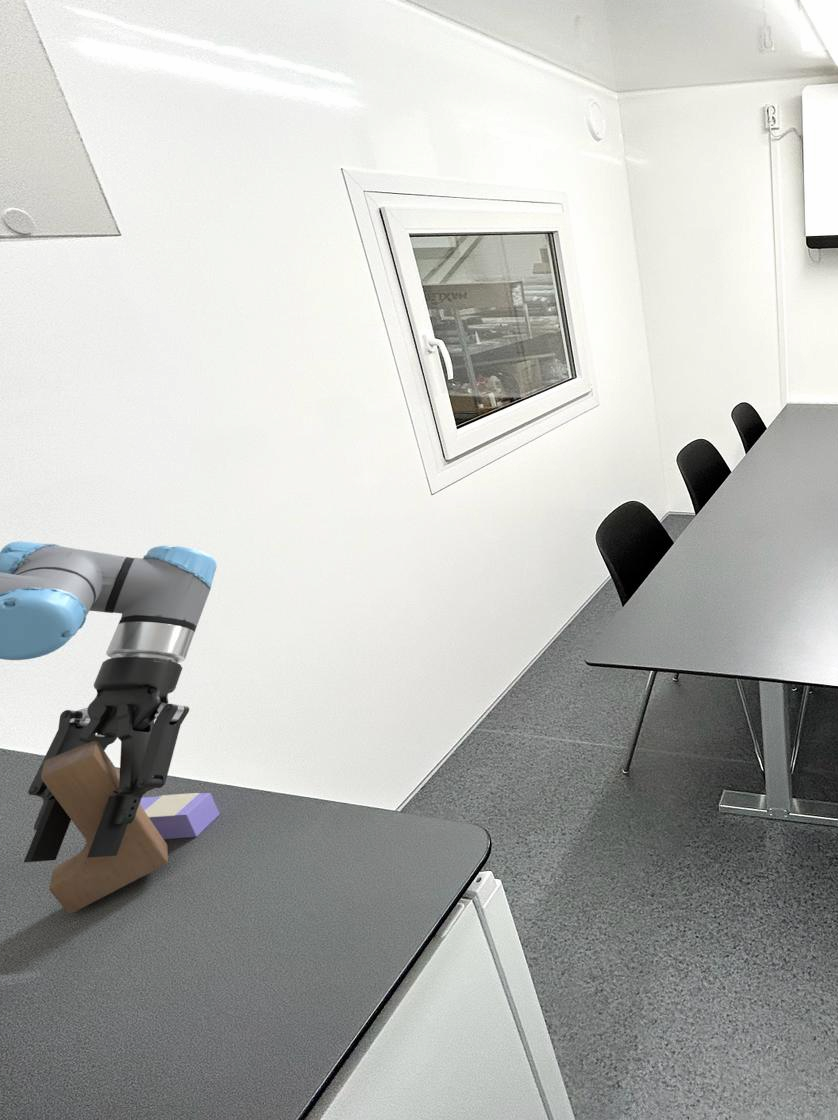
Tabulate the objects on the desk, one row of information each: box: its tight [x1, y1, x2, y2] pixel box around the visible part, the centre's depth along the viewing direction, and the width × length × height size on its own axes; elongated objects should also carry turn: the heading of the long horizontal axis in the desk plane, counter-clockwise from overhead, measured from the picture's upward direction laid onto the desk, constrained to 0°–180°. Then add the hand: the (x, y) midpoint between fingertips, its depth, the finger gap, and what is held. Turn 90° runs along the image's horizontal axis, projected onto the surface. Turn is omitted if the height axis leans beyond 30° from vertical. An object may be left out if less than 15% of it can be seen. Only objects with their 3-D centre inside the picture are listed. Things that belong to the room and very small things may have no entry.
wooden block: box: [41, 741, 169, 914], centre depth 75 cm, size 9×4×18 cm, turn 136°
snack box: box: [140, 792, 221, 840], centre depth 87 cm, size 10×4×4 cm, turn 94°
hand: (71, 858), depth 72 cm, fingers closed on wooden block, 6 cm apart
